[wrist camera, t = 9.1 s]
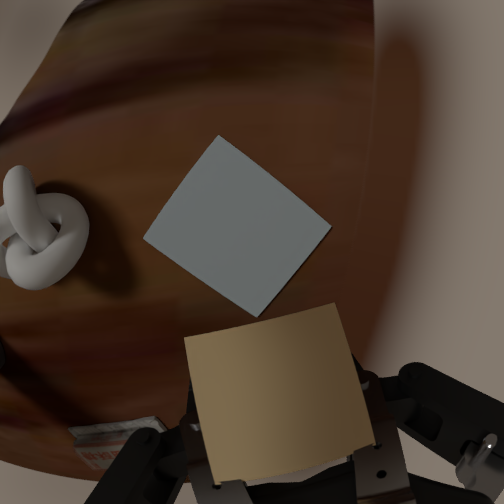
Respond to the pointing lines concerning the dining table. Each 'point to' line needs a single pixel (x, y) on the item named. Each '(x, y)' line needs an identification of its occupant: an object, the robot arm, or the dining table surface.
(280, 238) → the felt mat
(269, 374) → the oak block
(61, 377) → the dining table surface
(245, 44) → the dining table surface
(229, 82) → the dining table surface
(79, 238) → the white decorative knot
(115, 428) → the packaged product
